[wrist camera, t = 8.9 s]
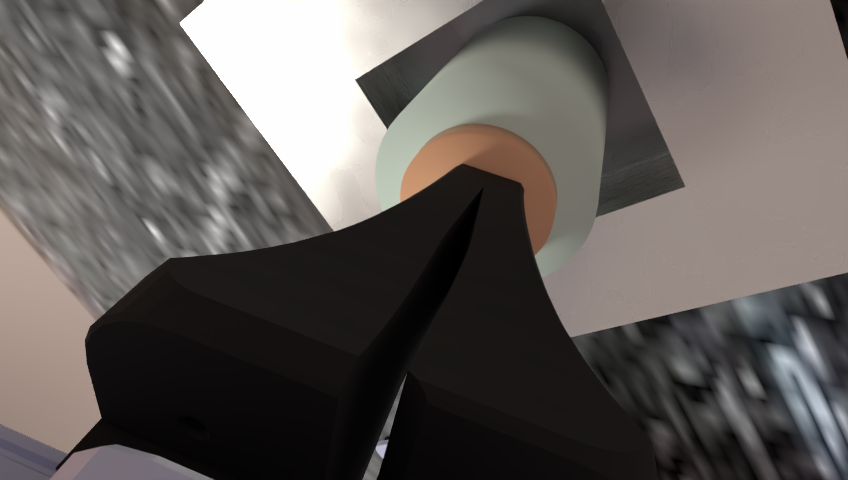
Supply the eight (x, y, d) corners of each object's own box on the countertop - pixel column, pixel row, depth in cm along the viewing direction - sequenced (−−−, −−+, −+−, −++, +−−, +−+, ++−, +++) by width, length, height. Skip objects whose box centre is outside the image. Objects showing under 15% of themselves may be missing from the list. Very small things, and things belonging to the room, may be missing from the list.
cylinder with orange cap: (562, 197, 18) (531, 334, 13) (426, 135, 18) (343, 245, 13) (643, 58, 15) (647, 161, 10) (480, -13, 15) (401, 51, 10)
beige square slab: (856, 180, 17) (906, 258, 14) (462, 300, 24) (436, 368, 21) (683, -362, 12) (700, -436, 9) (254, -7, 19) (179, 23, 16)
